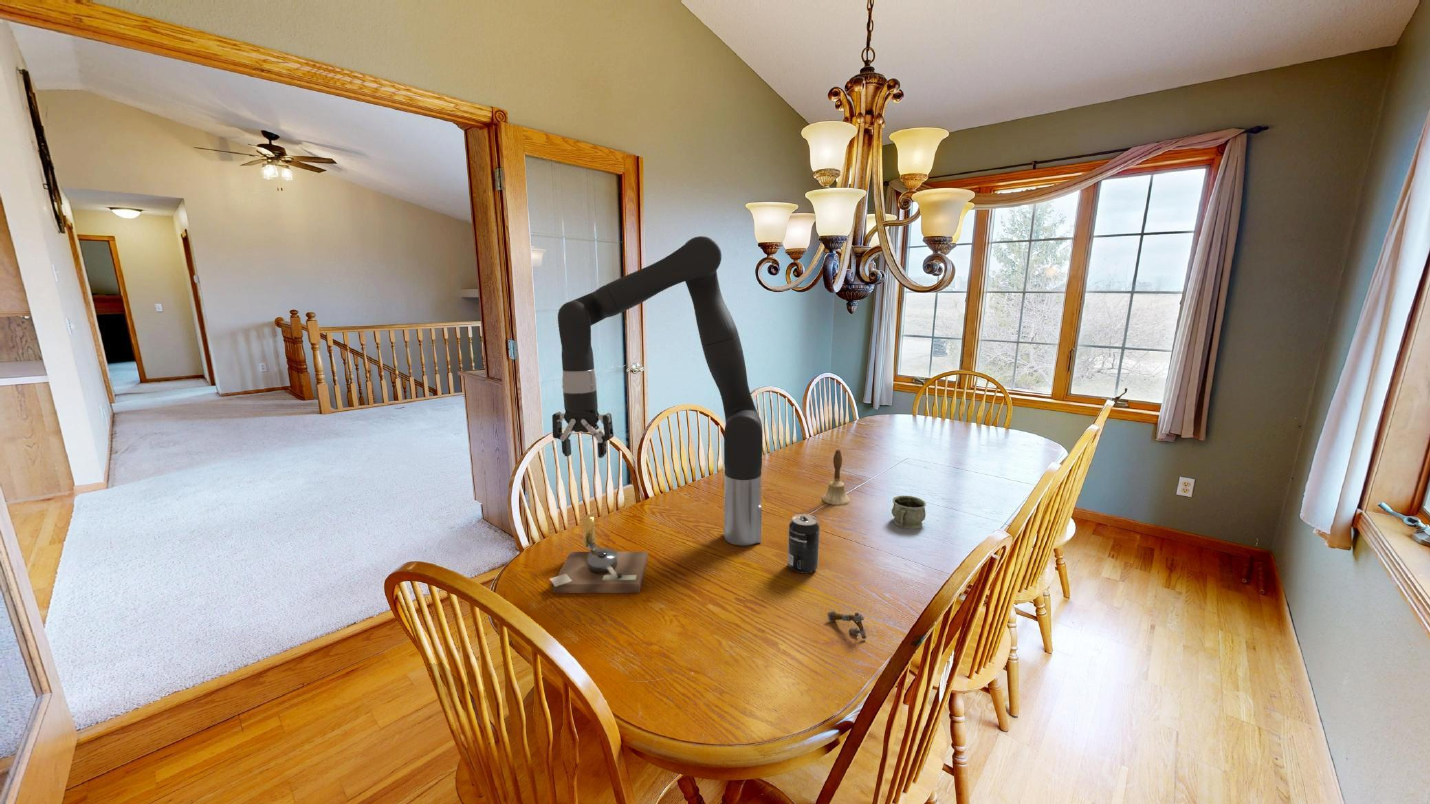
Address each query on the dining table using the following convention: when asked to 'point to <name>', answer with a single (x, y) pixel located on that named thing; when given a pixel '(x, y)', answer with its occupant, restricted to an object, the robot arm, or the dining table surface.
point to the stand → (601, 575)
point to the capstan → (597, 550)
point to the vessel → (908, 511)
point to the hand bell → (836, 485)
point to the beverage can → (803, 543)
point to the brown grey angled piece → (849, 617)
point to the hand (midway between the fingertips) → (584, 456)
